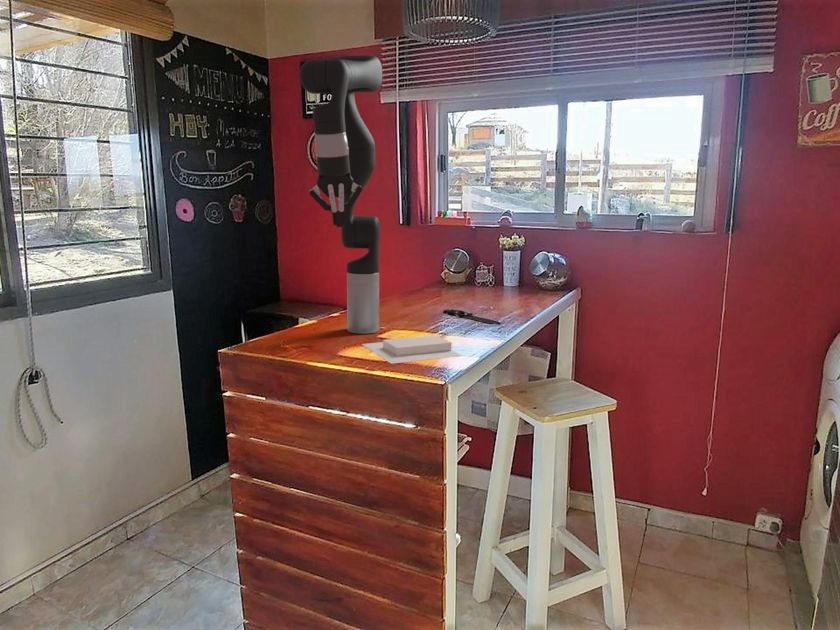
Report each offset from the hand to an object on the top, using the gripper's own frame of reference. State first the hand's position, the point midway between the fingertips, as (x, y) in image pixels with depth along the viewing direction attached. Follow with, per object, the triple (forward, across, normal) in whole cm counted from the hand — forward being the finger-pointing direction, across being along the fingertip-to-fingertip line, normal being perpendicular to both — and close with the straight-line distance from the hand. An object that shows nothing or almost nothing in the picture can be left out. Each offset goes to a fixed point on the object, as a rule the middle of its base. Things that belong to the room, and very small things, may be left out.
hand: (339, 226), depth 146 cm
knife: (+44, -42, -32) cm, 68 cm away
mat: (+32, -14, +9) cm, 36 cm away
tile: (+29, -9, +10) cm, 32 cm away
